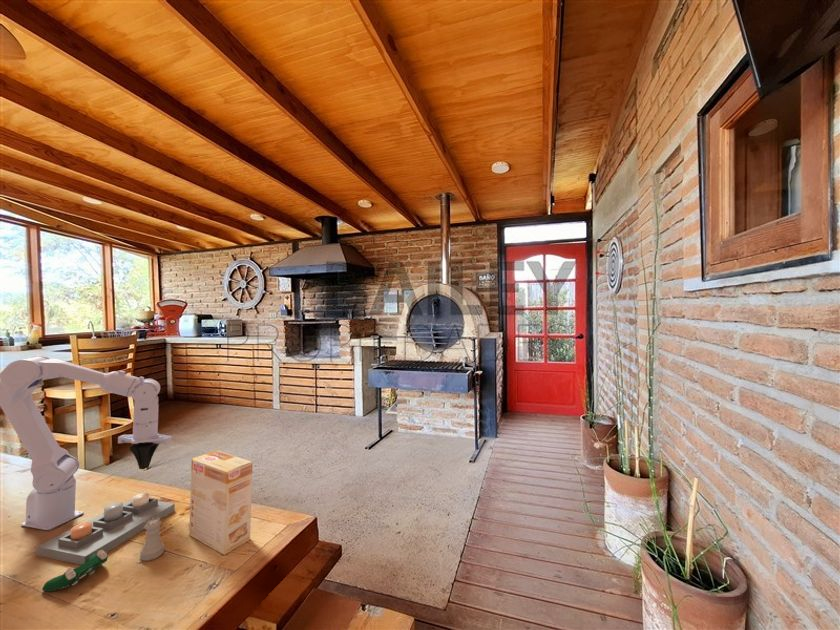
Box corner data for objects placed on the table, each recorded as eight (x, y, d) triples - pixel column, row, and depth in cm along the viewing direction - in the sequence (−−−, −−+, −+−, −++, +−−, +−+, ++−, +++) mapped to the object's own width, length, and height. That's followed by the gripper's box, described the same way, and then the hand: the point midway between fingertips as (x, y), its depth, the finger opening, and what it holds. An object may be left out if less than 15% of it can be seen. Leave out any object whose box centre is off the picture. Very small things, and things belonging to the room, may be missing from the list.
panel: (36, 555, 78) (36, 539, 78) (134, 504, 99) (134, 492, 99) (84, 565, 75) (85, 549, 75) (174, 510, 97) (174, 498, 97)
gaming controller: (48, 604, 67) (64, 587, 66) (38, 587, 68) (55, 570, 67) (101, 570, 76) (116, 555, 75) (92, 556, 77) (107, 541, 76)
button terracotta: (66, 543, 79) (66, 530, 79) (84, 533, 83) (84, 521, 83) (78, 545, 78) (78, 532, 78) (95, 535, 82) (96, 523, 82)
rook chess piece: (168, 551, 80) (169, 517, 80) (148, 564, 76) (149, 528, 76) (155, 546, 82) (156, 513, 82) (134, 559, 78) (136, 523, 78)
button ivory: (128, 509, 93) (128, 498, 93) (141, 503, 96) (141, 492, 96) (139, 511, 92) (139, 500, 92) (152, 504, 96) (152, 493, 96)
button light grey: (99, 521, 86) (100, 509, 86) (115, 513, 89) (115, 501, 89) (111, 523, 85) (111, 511, 85) (126, 515, 89) (126, 503, 89)
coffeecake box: (251, 539, 85) (253, 461, 86) (223, 556, 79) (226, 472, 79) (215, 521, 93) (218, 449, 93) (187, 535, 86) (190, 458, 86)
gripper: (108, 425, 96) (107, 473, 96) (159, 426, 96) (158, 474, 96) (130, 417, 103) (128, 462, 103) (177, 419, 103) (176, 464, 103)
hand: (144, 467), depth 100 cm, fingers closed
